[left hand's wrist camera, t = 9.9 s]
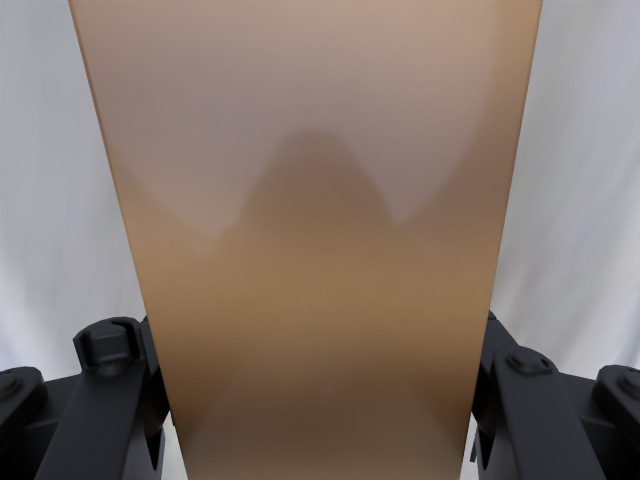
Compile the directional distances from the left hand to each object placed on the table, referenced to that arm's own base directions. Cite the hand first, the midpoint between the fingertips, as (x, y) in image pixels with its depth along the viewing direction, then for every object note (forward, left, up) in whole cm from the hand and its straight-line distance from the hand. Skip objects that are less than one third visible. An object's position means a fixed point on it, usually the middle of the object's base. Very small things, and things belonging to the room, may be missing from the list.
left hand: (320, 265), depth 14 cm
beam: (+2, +24, -1) cm, 24 cm away
